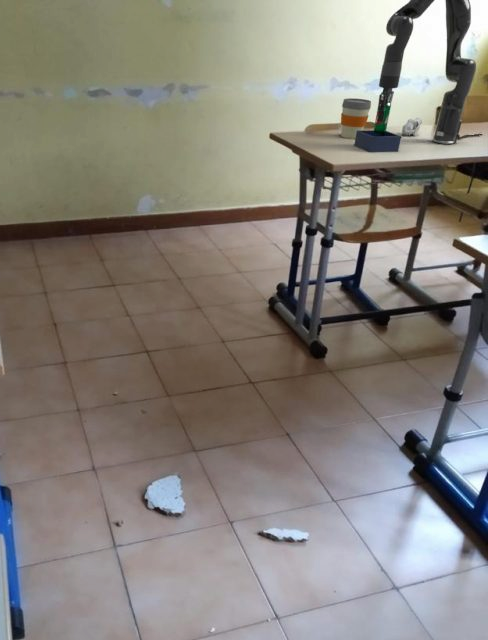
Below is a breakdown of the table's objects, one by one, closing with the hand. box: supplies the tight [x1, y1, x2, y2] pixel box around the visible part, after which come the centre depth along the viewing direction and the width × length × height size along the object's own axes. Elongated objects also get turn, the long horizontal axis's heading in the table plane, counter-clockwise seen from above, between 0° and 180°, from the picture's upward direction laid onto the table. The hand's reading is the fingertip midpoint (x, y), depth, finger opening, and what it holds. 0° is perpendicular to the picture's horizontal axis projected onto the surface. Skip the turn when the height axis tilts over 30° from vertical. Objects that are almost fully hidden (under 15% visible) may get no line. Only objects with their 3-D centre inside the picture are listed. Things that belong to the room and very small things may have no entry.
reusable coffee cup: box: [340, 98, 372, 140], centre depth 273 cm, size 13×13×15 cm
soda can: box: [373, 101, 392, 134], centre depth 251 cm, size 5×5×12 cm
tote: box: [353, 129, 402, 153], centre depth 256 cm, size 13×13×6 cm
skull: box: [401, 117, 423, 137], centre depth 284 cm, size 8×9×12 cm
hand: (381, 119), depth 252 cm, fingers closed on soda can, 5 cm apart
